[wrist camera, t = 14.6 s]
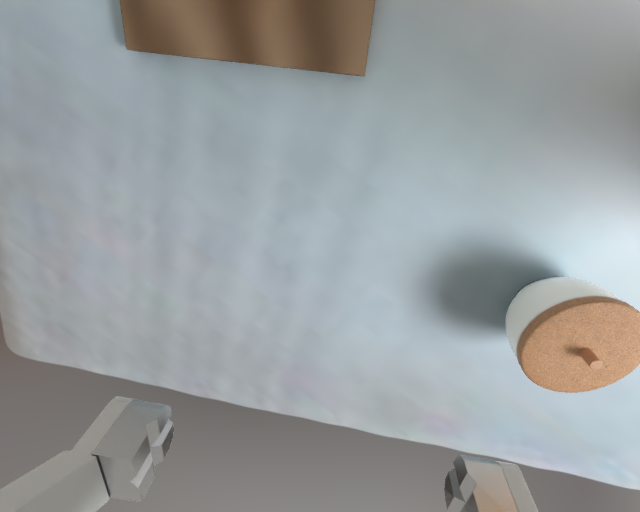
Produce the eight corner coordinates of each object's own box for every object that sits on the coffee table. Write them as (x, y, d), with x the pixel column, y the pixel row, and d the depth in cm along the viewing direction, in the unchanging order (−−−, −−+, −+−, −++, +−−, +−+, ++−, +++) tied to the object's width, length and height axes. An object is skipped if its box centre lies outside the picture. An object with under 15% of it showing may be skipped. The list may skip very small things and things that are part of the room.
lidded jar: (525, 354, 41) (570, 423, 32) (470, 301, 38) (504, 362, 30) (614, 303, 36) (693, 367, 28) (560, 240, 34) (628, 290, 25)
